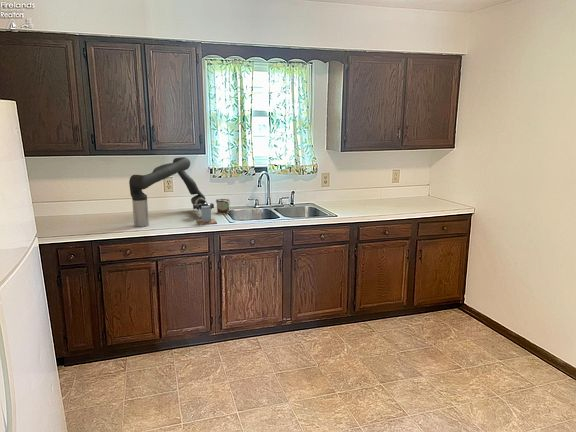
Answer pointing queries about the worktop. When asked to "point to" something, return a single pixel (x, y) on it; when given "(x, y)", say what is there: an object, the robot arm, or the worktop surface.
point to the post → (206, 222)
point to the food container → (223, 205)
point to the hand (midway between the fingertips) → (204, 208)
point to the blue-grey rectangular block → (206, 213)
